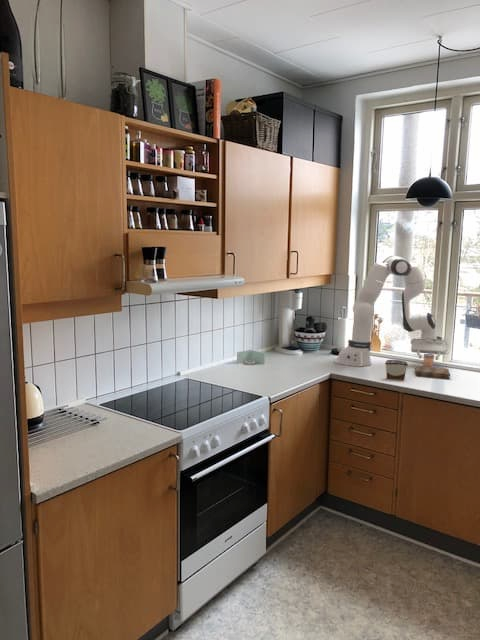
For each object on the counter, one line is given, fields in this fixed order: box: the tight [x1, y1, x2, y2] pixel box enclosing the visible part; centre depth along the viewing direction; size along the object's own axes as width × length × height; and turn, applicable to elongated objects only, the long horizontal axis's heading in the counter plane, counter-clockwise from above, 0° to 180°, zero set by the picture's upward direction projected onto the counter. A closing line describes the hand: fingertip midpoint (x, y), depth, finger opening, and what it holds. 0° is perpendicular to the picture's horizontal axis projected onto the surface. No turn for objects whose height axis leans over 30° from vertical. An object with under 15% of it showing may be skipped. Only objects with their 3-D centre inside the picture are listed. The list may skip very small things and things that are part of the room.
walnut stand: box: [414, 365, 451, 380], centre depth 293 cm, size 18×13×3 cm
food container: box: [384, 359, 409, 381], centre depth 282 cm, size 12×6×10 cm, turn 84°
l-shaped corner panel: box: [236, 349, 266, 366], centre depth 306 cm, size 12×12×8 cm
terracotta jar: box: [422, 353, 435, 368], centre depth 306 cm, size 6×6×9 cm
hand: (428, 358), depth 307 cm, fingers open, 8 cm apart
